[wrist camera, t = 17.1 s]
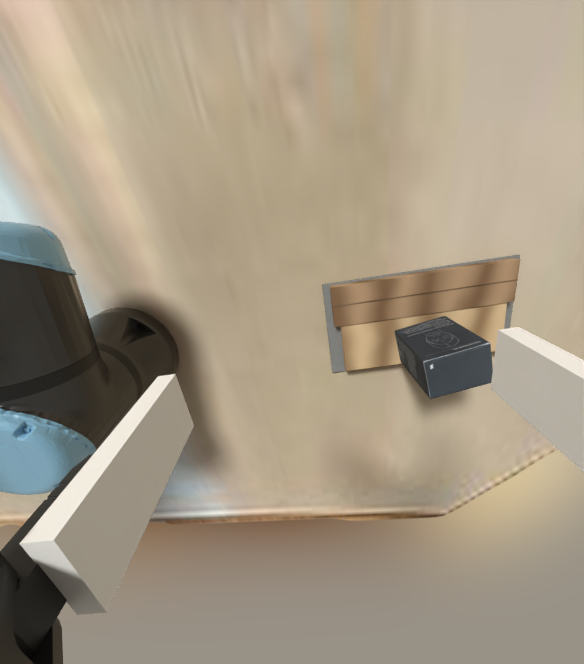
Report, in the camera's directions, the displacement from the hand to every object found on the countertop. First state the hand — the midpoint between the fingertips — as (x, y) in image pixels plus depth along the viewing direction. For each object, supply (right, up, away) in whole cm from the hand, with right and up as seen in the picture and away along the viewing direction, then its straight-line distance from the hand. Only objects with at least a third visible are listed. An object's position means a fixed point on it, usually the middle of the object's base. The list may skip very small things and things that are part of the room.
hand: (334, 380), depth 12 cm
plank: (+18, +2, +33) cm, 38 cm away
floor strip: (+17, +8, +31) cm, 36 cm away
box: (+18, +1, +32) cm, 37 cm away
